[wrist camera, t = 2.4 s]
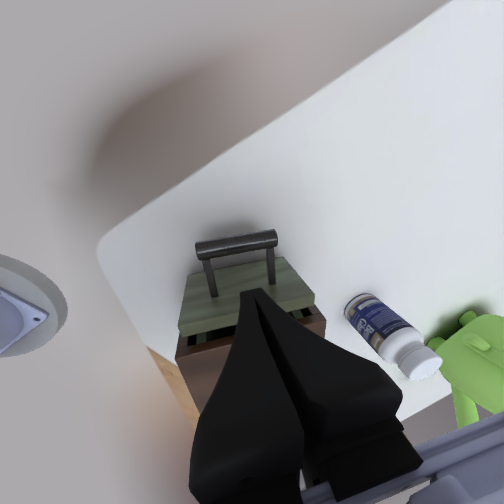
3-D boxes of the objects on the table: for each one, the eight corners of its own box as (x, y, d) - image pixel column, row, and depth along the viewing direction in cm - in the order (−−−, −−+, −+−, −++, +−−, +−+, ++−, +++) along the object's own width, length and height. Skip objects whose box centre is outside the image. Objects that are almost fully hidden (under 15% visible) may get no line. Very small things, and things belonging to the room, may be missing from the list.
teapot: (382, 362, 37) (489, 484, 23) (476, 286, 32) (681, 378, 18) (425, 388, 47) (517, 482, 33) (501, 333, 43) (644, 414, 29)
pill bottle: (340, 303, 27) (403, 368, 18) (373, 287, 27) (452, 344, 18) (346, 325, 29) (404, 392, 21) (376, 311, 29) (446, 371, 21)
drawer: (173, 229, 17) (152, 265, 10) (282, 212, 18) (318, 235, 12) (211, 353, 24) (212, 415, 18) (285, 334, 26) (309, 385, 20)
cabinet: (187, 286, 20) (174, 359, 13) (286, 266, 22) (326, 319, 14) (211, 363, 26) (212, 443, 19) (287, 342, 28) (317, 408, 20)
